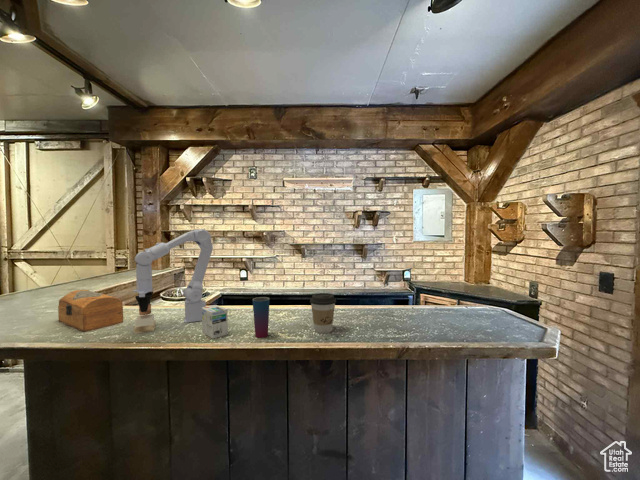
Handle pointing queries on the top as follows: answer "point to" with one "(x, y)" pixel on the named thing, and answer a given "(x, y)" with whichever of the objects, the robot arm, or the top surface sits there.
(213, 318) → the light bulb box
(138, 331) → the tower base
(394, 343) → the top surface
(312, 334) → the top surface
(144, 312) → the cylinder
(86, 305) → the wooden box
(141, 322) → the tower top
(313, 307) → the coffee cup
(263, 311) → the cup
